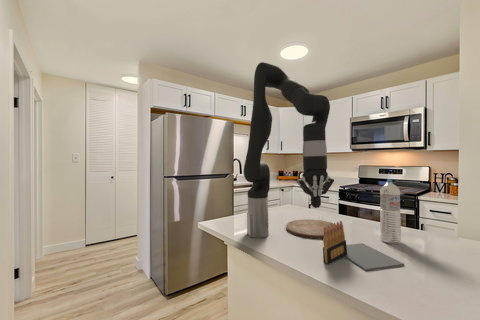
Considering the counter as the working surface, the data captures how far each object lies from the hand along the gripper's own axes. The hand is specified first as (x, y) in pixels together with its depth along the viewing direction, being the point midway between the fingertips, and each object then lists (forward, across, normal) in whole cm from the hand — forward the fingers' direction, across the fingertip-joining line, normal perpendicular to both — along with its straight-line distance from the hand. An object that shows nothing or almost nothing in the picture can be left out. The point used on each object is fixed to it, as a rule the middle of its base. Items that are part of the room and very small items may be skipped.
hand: (316, 207), depth 76 cm
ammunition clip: (+18, +7, 0) cm, 19 cm away
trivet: (+19, +16, +31) cm, 40 cm away
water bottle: (+19, +38, +9) cm, 43 cm away
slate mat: (+18, +18, 0) cm, 26 cm away
